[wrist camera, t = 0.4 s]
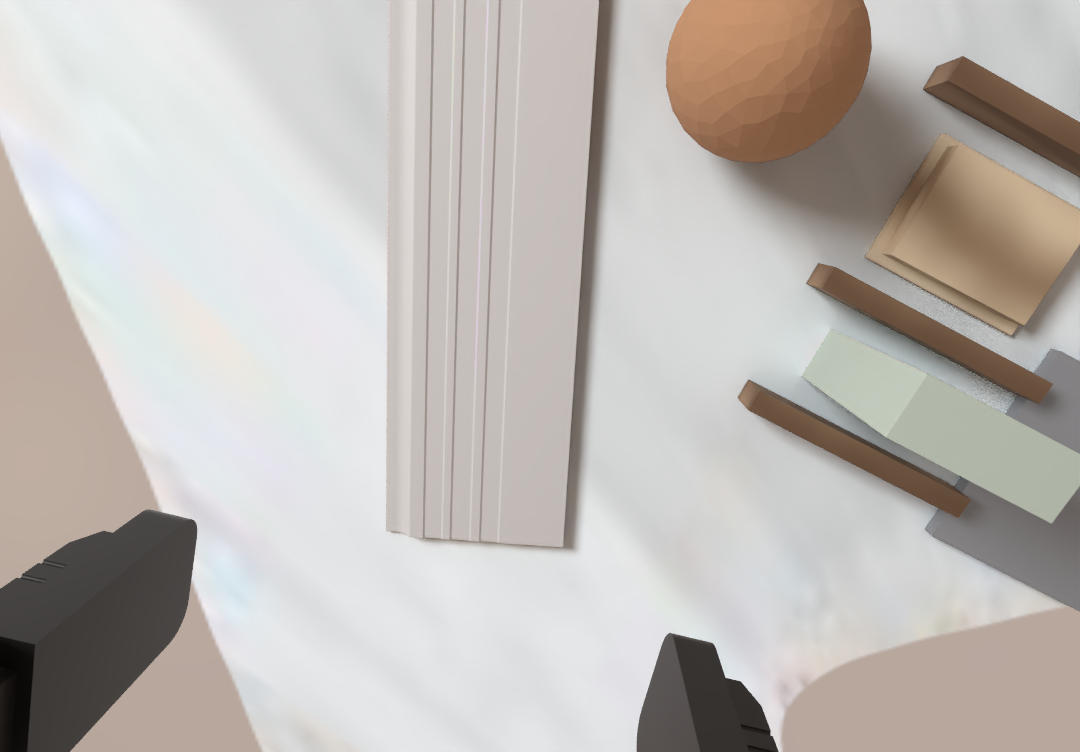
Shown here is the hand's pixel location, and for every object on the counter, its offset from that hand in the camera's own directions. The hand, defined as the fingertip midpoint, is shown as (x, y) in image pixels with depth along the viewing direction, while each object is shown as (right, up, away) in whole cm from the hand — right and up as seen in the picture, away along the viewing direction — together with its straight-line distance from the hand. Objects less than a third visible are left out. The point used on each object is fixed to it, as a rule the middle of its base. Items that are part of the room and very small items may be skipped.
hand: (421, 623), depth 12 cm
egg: (+12, +19, +25) cm, 34 cm away
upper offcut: (+25, +11, +25) cm, 37 cm away
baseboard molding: (-2, +10, +28) cm, 30 cm away
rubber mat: (+31, -2, +29) cm, 43 cm away
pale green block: (+21, +4, +28) cm, 35 cm away
